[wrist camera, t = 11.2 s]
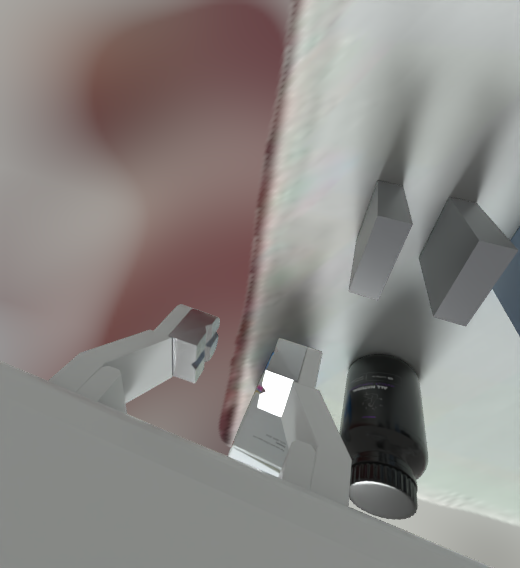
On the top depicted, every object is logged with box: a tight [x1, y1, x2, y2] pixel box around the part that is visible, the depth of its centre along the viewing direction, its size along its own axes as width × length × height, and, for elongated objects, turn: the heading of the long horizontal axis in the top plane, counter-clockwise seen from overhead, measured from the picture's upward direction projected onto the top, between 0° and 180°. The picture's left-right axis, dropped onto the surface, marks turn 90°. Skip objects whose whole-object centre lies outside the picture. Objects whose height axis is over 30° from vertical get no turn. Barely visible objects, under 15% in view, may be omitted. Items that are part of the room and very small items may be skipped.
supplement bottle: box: [339, 354, 428, 519], centre depth 27 cm, size 7×7×12 cm
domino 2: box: [419, 197, 518, 326], centre depth 20 cm, size 2×5×8 cm, turn 171°
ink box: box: [228, 352, 289, 477], centre depth 32 cm, size 9×5×12 cm, turn 166°
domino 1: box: [349, 180, 413, 300], centre depth 21 cm, size 2×5×8 cm, turn 171°
